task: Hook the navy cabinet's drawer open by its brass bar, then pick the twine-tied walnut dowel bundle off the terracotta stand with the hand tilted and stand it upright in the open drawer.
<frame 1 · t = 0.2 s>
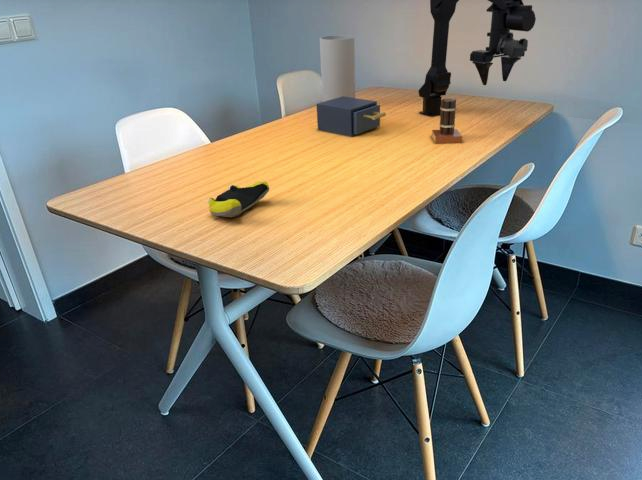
hand: (494, 83, 173), 15 cm above the table, tool pointing down, fingers open, 9 cm apart
cabinet: (347, 128, 186), on the table
stand: (446, 139, 172), on the table
black and yellow sneaker: (238, 211, 127), on the table
drawer: (358, 117, 181), point 4 cm above the table, slide at 0.5 cm
bundle: (446, 132, 171), point 2 cm above the table, touching stand
cylinder vase: (339, 108, 213), on the table
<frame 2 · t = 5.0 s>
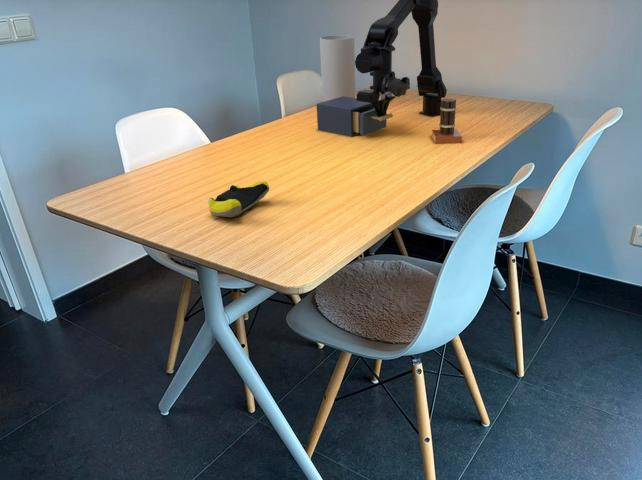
hand: (381, 120, 176), 5 cm above the table, tool pointing down, fingers closed, pressing on drawer
drawer: (364, 118, 180), point 4 cm above the table, slide at 3.2 cm, touching gripper
everything else where it was.
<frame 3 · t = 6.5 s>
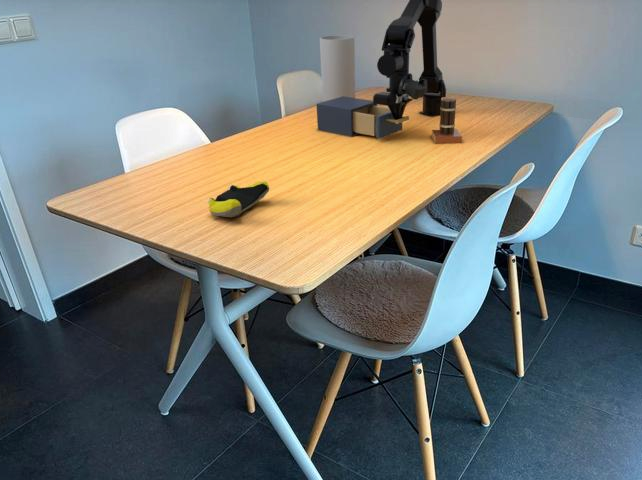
hand: (398, 123, 172), 5 cm above the table, tool pointing down, fingers closed, pressing on drawer
drawer: (380, 121, 176), point 4 cm above the table, slide at 9.5 cm, touching gripper
everything else where it was.
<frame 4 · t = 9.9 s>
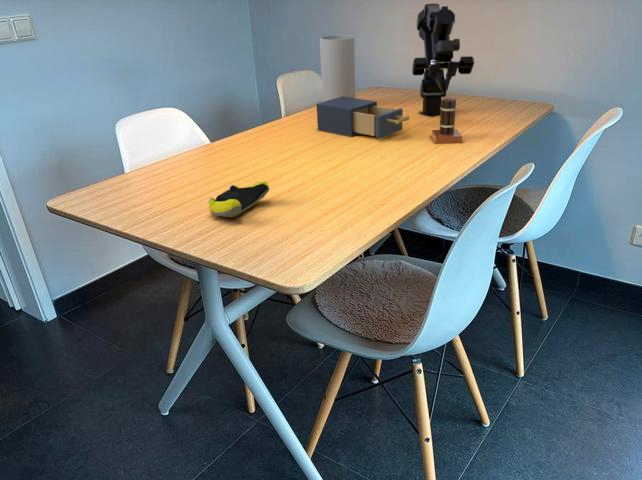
hand: (444, 89, 173), 13 cm above the table, tool tilted 45°, fingers closed
drawer: (380, 121, 176), point 4 cm above the table, slide at 9.5 cm
everything else where it was.
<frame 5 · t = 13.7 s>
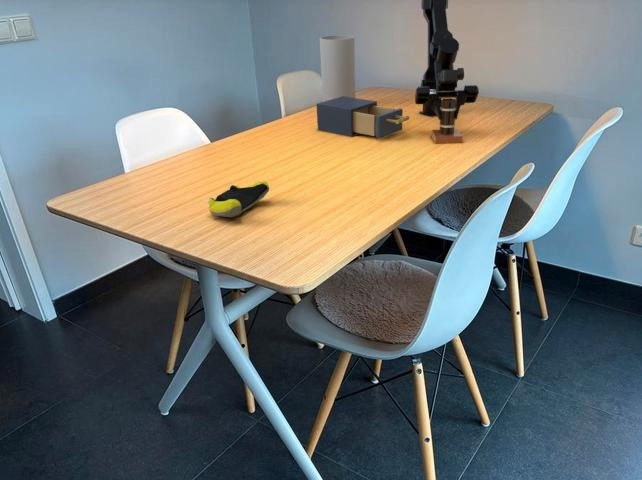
hand: (448, 119, 168), 7 cm above the table, tool tilted 45°, fingers closed on bundle, 4 cm apart
bundle: (446, 132, 171), point 2 cm above the table, touching gripper, stand
everything else where it was.
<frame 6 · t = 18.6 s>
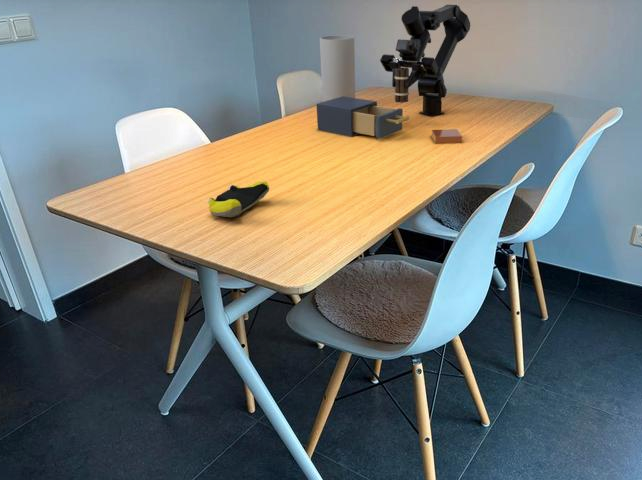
hand: (399, 87, 177), 14 cm above the table, tool tilted 45°, fingers closed on bundle, 4 cm apart
bundle: (401, 101, 180), point 9 cm above the table, touching gripper
everything else where it was.
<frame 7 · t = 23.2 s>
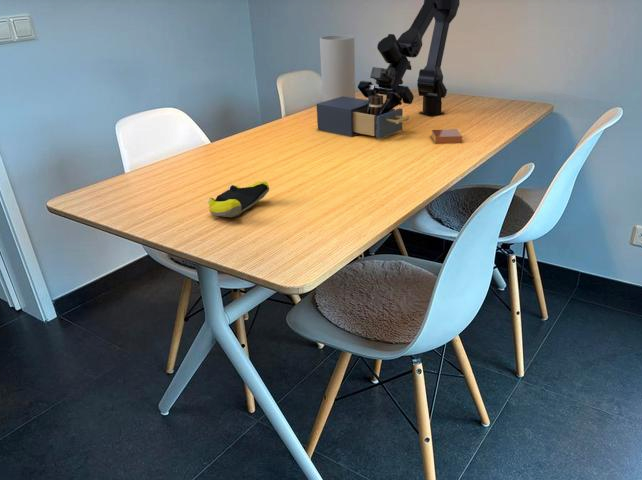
hand: (374, 114, 175), 7 cm above the table, tool tilted 45°, fingers closed on bundle, 4 cm apart
drawer: (380, 121, 176), point 4 cm above the table, slide at 9.5 cm, touching bundle
bundle: (376, 128, 178), point 2 cm above the table, touching drawer, gripper
everything else where it was.
when the fingers open (7 cm above the table, at t = 23.4 s): bundle stays where it is, resting on drawer.
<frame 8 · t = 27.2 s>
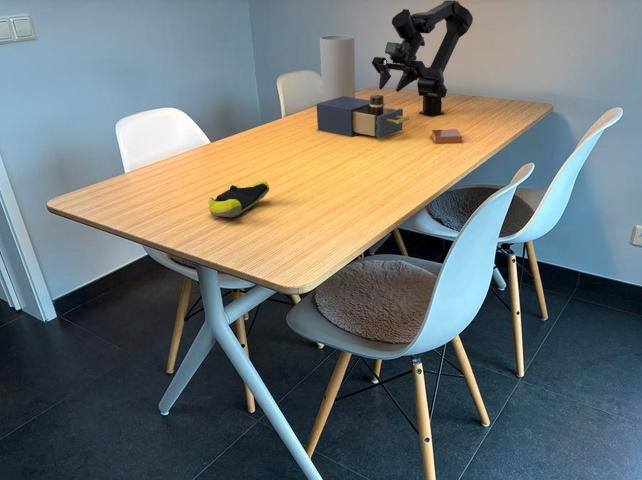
hand: (388, 90, 177), 13 cm above the table, tool tilted 45°, fingers open, 6 cm apart
bundle: (376, 128, 178), point 2 cm above the table, touching drawer
everything else where it was.
at the end: drawer slide at 9.6 cm; bundle 0.1 cm from the target spot in the drawer, point 2.0 cm above the cabinet's base; bundle tilted 0° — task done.
